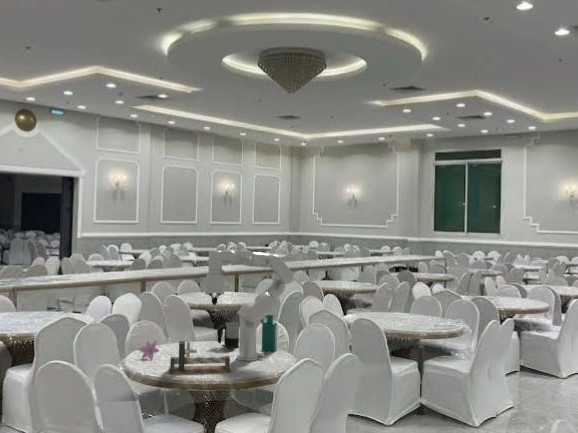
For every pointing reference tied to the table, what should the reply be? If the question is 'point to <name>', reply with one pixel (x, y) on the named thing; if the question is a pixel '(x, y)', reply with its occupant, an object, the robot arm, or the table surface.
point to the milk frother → (230, 335)
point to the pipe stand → (201, 369)
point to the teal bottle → (269, 334)
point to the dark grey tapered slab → (181, 355)
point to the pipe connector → (189, 350)
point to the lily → (149, 350)
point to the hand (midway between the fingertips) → (214, 304)
